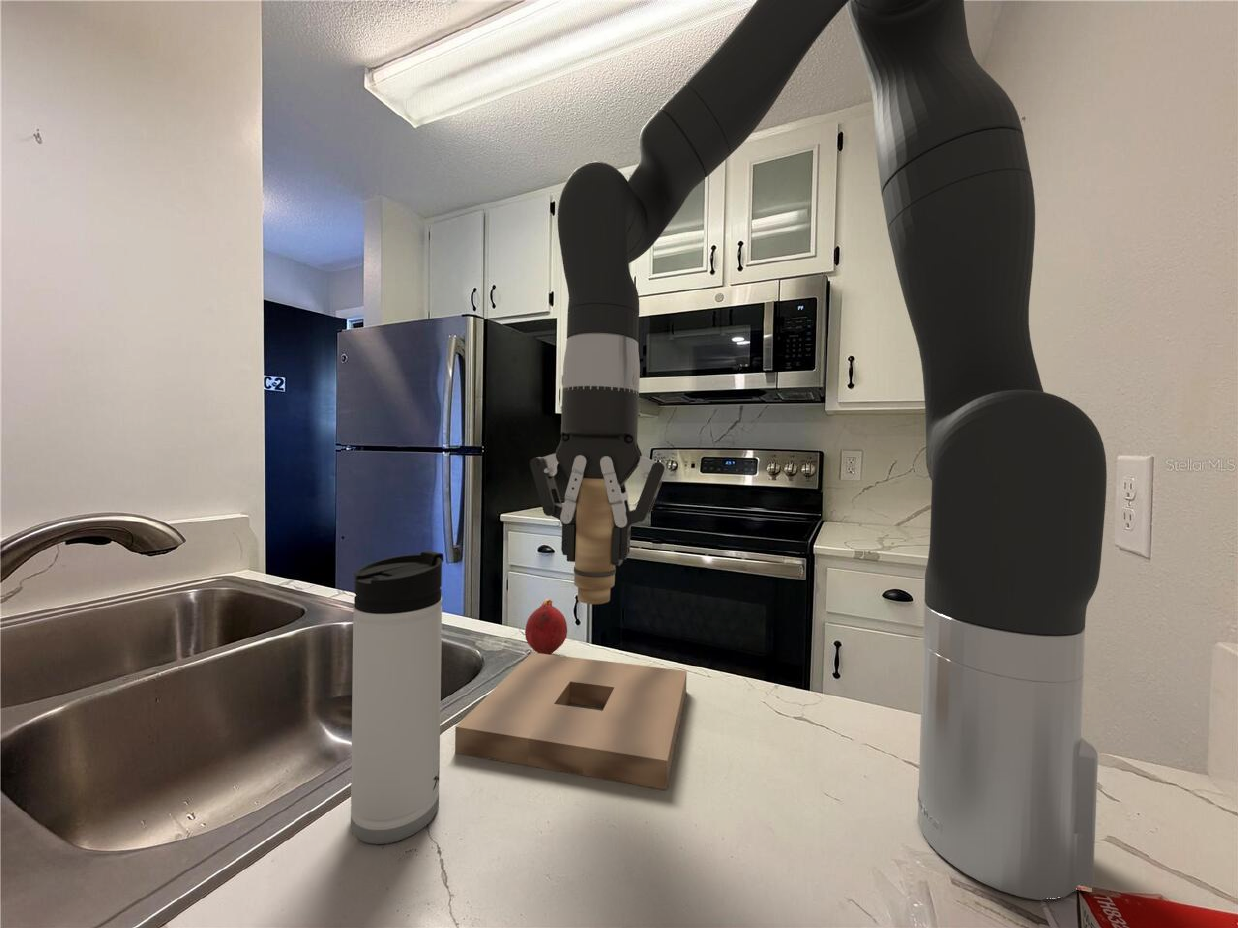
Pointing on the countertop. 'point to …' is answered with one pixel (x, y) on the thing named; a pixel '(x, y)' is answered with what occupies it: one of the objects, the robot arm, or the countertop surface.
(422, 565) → the travel mug
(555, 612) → the red egg-shaped piece
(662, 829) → the countertop surface
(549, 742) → the walnut board
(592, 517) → the oak peg
